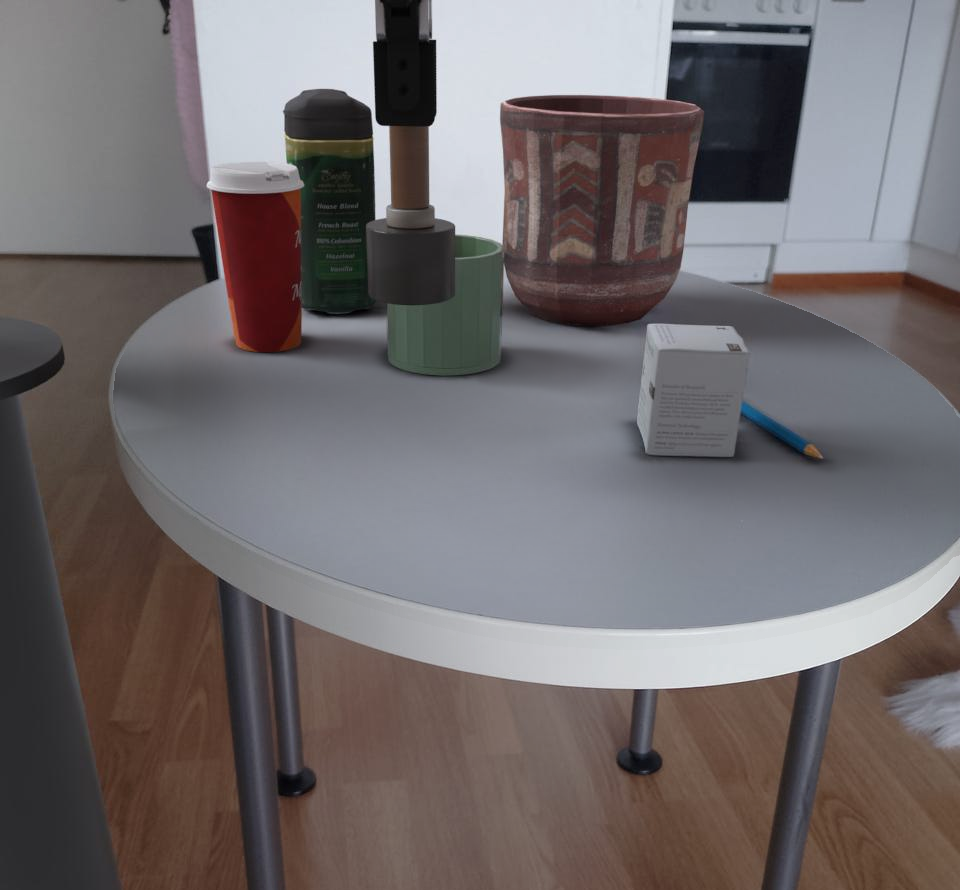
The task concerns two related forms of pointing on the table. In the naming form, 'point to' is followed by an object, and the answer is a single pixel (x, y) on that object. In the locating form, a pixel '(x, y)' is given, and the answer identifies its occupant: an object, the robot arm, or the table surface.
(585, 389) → the table surface
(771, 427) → the pencil
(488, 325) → the jar
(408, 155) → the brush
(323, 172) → the coffee jar
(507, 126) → the pottery
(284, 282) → the paper cup
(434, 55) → the robot arm
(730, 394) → the white cardboard box
